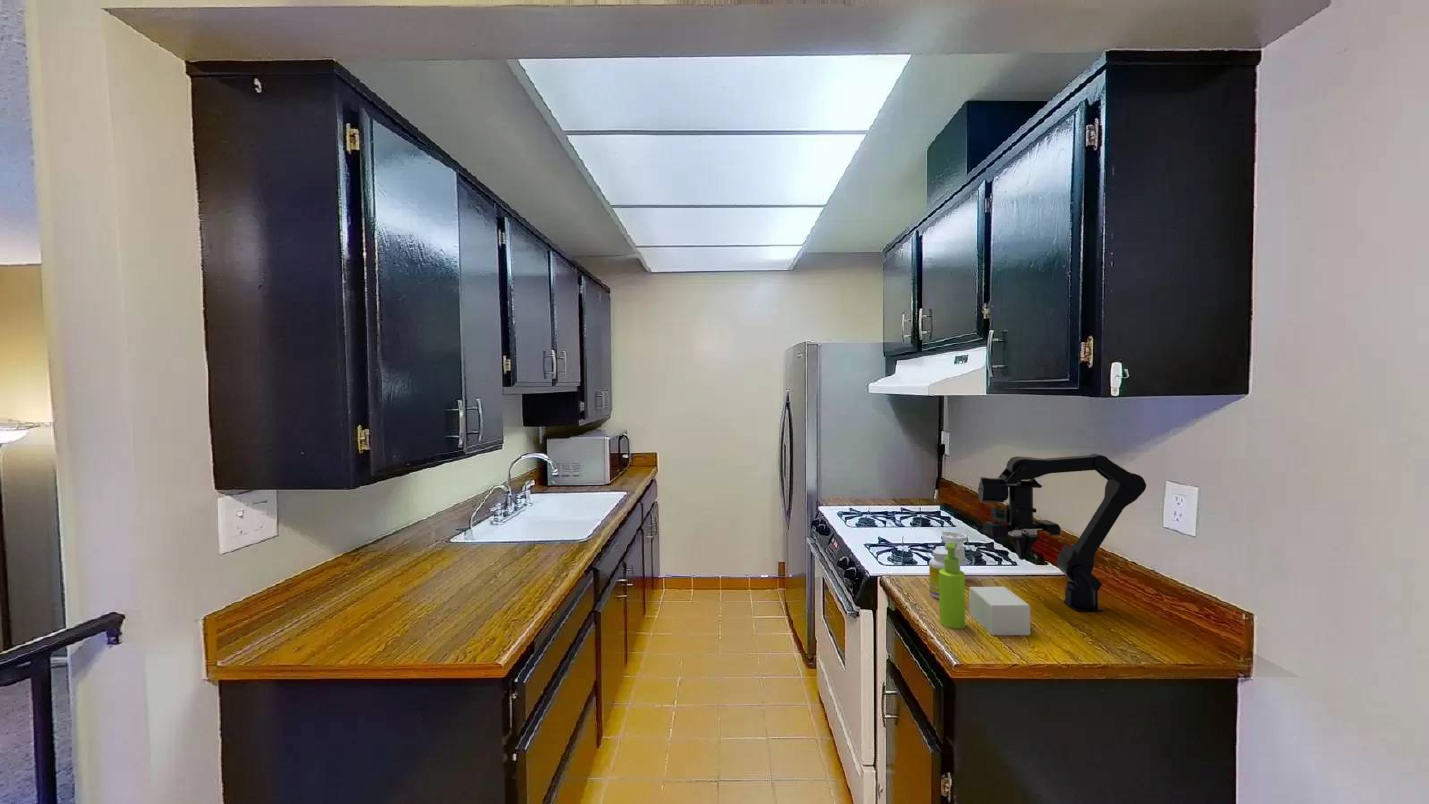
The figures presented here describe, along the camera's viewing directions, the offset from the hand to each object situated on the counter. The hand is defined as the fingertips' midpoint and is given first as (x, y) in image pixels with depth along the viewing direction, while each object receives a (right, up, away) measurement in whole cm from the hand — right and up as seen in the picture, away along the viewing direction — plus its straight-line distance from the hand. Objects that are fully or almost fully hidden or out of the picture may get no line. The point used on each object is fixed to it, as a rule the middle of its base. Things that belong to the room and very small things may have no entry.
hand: (1021, 559), depth 143 cm
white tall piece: (-10, -12, +19) cm, 24 cm away
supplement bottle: (-19, -13, +6) cm, 24 cm away
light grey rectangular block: (-13, -13, -12) cm, 22 cm away
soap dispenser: (-24, -13, -11) cm, 29 cm away
